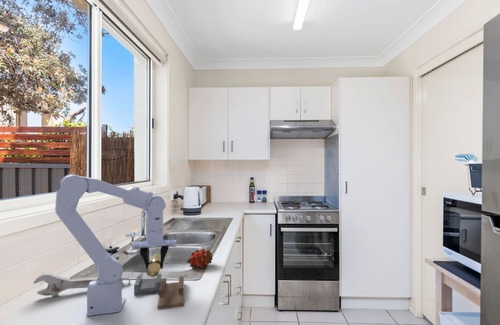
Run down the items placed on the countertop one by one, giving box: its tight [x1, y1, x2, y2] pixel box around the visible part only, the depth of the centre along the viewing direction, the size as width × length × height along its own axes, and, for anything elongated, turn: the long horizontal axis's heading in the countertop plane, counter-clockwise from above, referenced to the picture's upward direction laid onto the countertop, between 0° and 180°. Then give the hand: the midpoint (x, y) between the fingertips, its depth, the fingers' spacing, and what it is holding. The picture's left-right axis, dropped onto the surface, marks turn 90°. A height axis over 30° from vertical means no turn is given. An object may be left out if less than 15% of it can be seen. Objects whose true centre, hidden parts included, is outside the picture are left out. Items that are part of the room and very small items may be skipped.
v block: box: [133, 273, 162, 296], centre depth 99 cm, size 8×8×4 cm
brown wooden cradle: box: [157, 276, 185, 310], centre depth 94 cm, size 8×16×3 cm, turn 14°
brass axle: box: [146, 253, 161, 278], centre depth 96 cm, size 12×4×4 cm, turn 13°
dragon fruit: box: [186, 247, 214, 269], centre depth 119 cm, size 8×8×12 cm
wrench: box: [33, 272, 131, 298], centre depth 98 cm, size 8×2×30 cm
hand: (154, 268), depth 95 cm, fingers closed on brass axle, 4 cm apart
